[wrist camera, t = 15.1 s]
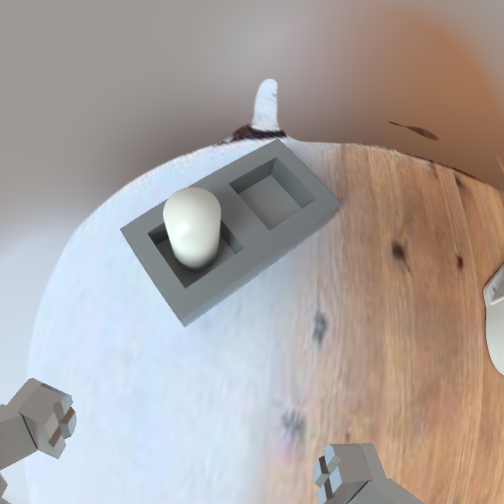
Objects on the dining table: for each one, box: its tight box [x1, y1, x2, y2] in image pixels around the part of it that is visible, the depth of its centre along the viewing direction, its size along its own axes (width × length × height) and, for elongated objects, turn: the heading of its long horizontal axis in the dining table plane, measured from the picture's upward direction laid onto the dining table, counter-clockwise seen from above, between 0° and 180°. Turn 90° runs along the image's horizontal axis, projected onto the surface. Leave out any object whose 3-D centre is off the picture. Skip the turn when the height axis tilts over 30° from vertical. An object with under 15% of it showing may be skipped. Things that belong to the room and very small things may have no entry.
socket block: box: [120, 139, 341, 327], centre depth 31 cm, size 20×10×4 cm, turn 128°
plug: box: [163, 187, 221, 272], centre depth 27 cm, size 4×4×9 cm
